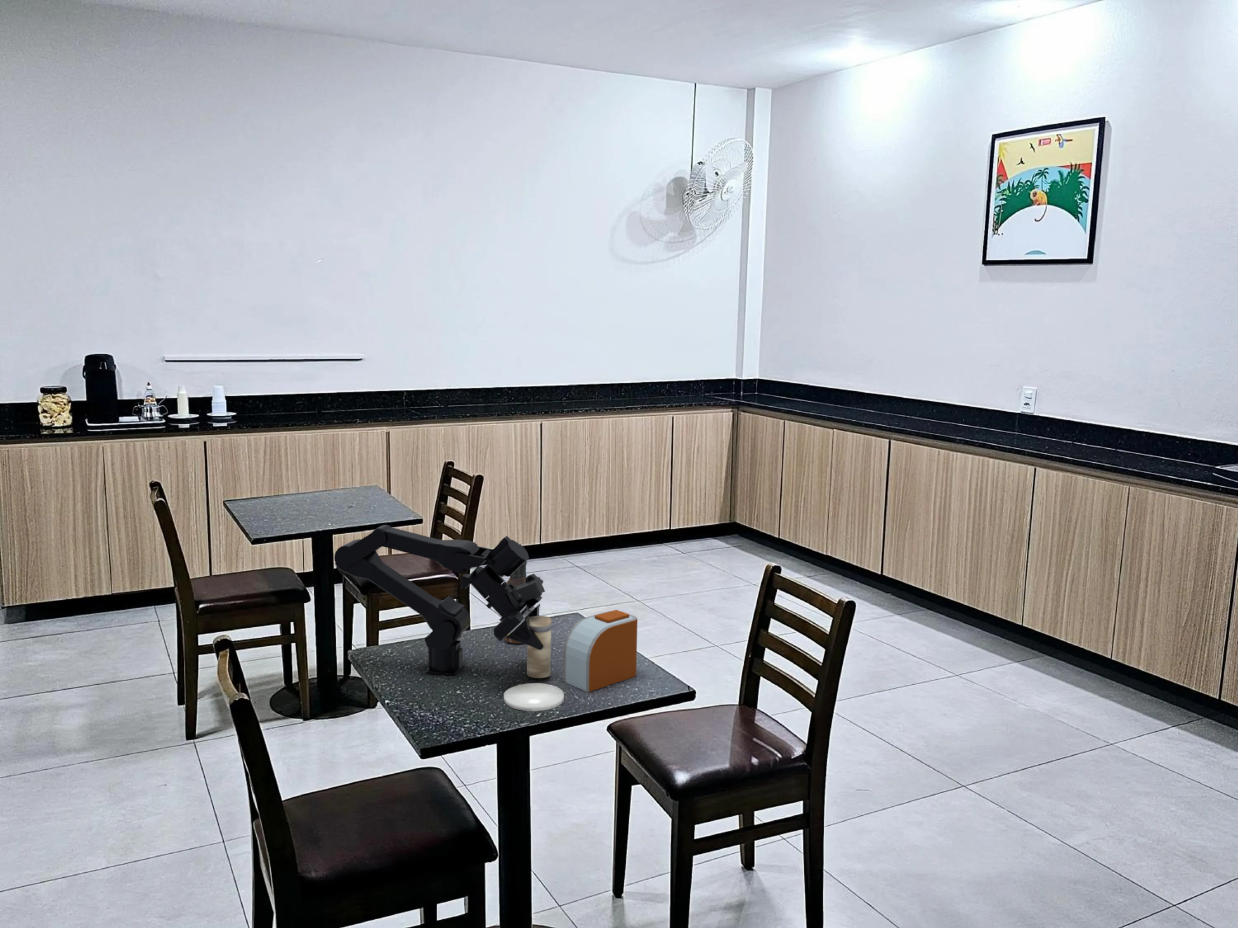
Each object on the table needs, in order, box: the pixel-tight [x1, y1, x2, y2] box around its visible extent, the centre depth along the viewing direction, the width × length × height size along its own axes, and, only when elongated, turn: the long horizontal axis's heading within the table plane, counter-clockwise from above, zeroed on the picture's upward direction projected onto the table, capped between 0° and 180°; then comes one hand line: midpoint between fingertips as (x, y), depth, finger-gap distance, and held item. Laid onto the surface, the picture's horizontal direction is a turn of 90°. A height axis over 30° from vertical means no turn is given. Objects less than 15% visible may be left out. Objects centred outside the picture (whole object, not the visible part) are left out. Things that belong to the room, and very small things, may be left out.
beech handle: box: [526, 615, 553, 679], centre depth 212 cm, size 5×5×12 cm
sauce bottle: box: [504, 560, 528, 645], centre depth 235 cm, size 7×6×20 cm
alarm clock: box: [562, 609, 638, 693], centre depth 213 cm, size 15×8×14 cm, turn 133°
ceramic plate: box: [503, 682, 565, 712], centre depth 202 cm, size 12×12×1 cm
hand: (545, 644), depth 212 cm, fingers closed on beech handle, 5 cm apart
